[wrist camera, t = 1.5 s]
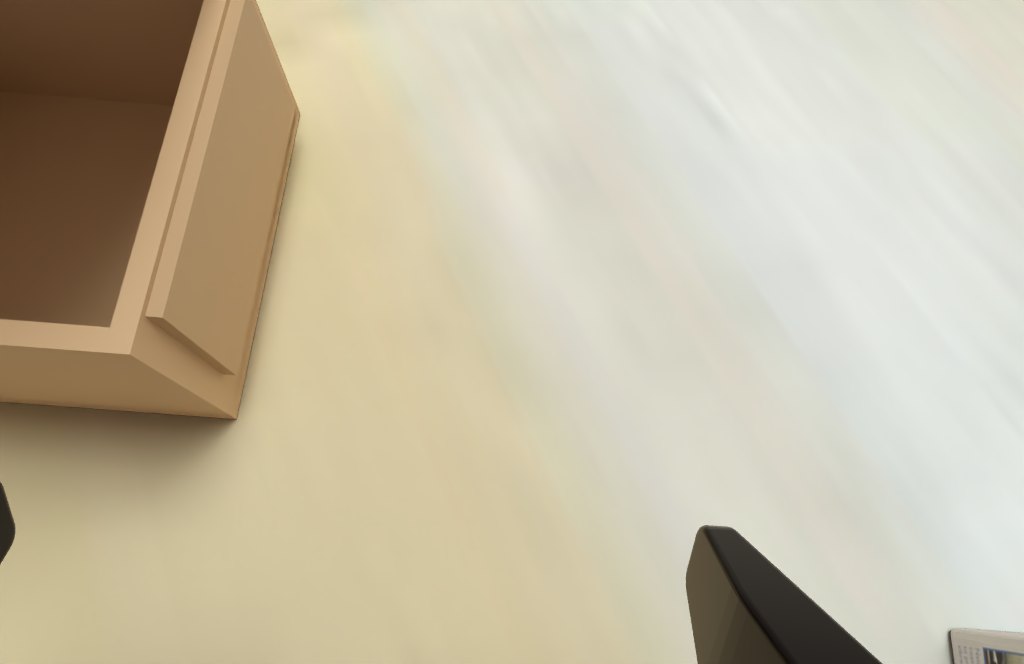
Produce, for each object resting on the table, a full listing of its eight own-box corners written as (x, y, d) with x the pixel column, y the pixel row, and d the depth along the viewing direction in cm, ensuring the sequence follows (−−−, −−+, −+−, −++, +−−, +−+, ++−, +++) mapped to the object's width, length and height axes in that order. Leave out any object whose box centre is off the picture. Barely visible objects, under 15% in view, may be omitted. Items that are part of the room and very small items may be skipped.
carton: (248, 420, 21) (147, 355, 15) (-154, 390, 21) (-442, 311, 14) (310, 114, 25) (252, -44, 19) (-27, 85, 25) (-207, -86, 18)
